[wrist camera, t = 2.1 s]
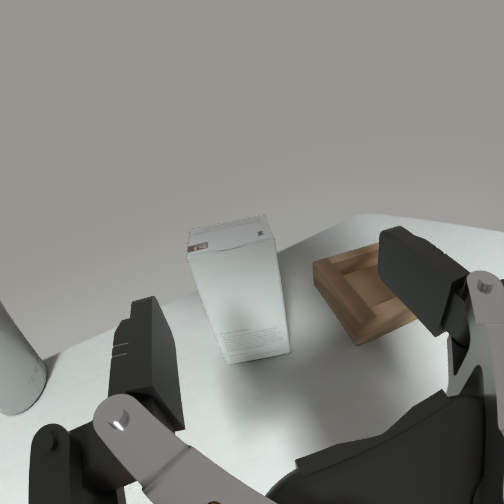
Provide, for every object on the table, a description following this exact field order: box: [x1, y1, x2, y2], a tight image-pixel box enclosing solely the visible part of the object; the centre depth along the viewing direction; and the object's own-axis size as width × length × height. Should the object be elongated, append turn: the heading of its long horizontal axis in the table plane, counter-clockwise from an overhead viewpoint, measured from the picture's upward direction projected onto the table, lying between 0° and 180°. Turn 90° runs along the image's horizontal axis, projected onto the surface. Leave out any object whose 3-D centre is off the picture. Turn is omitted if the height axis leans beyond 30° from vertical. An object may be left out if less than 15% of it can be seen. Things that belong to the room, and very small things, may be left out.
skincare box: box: [186, 214, 291, 364], centre depth 25 cm, size 6×4×12 cm
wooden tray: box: [313, 243, 418, 346], centre depth 30 cm, size 11×10×3 cm
